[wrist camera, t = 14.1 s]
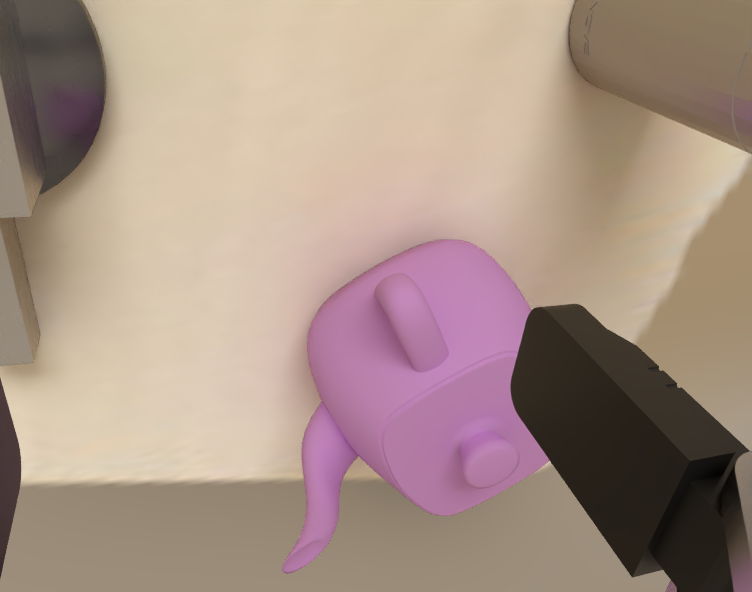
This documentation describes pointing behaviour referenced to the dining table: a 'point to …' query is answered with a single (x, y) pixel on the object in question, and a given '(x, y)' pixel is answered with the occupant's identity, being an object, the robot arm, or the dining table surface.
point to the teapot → (416, 386)
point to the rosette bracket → (40, 134)
